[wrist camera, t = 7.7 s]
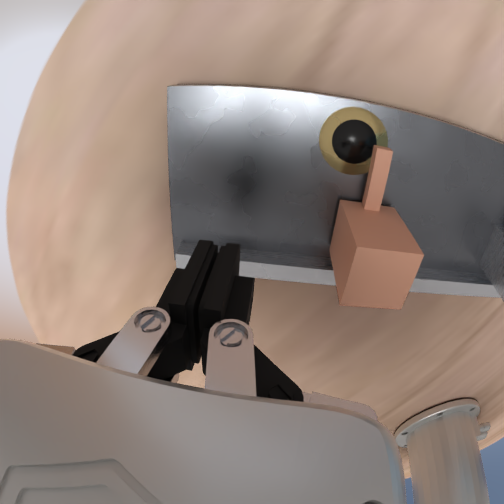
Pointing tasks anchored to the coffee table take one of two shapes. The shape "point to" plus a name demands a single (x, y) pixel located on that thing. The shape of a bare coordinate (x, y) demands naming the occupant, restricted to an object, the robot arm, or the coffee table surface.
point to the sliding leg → (373, 246)
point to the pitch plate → (329, 183)
